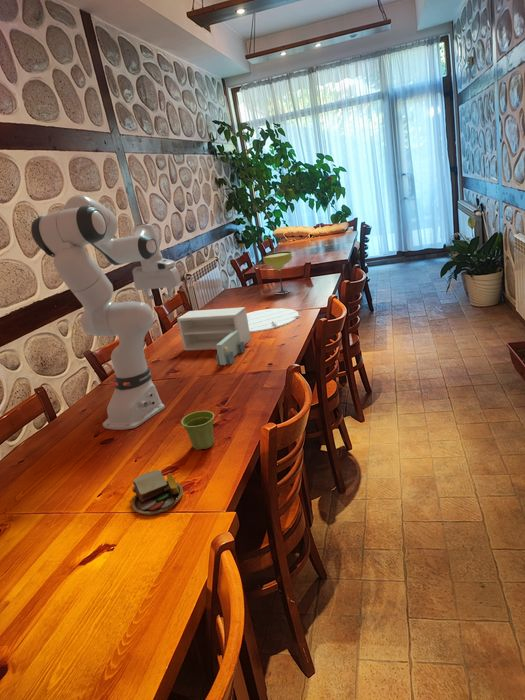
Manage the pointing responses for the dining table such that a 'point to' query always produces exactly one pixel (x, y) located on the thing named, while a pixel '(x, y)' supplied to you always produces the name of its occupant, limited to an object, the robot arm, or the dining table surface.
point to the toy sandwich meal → (155, 493)
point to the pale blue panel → (228, 346)
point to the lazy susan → (270, 318)
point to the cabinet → (212, 327)
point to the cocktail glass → (278, 262)
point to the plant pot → (200, 429)
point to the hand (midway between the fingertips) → (161, 298)
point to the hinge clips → (230, 355)
